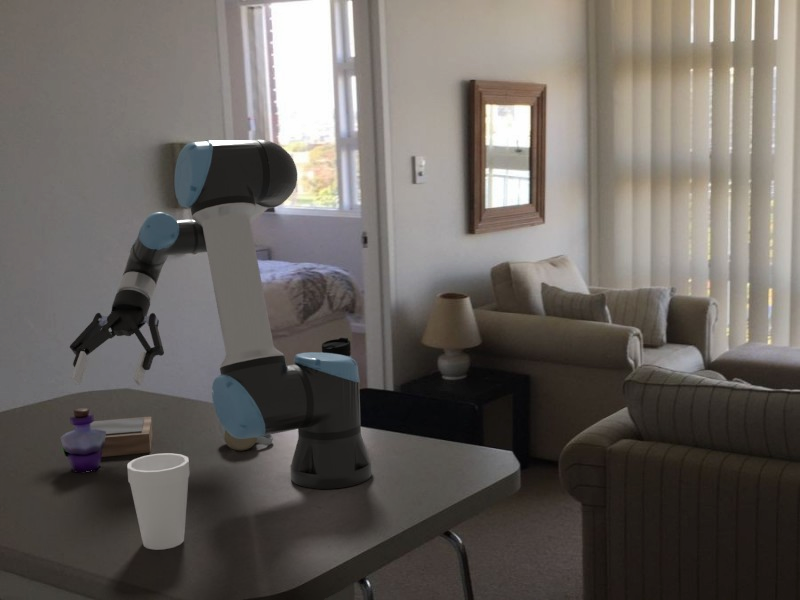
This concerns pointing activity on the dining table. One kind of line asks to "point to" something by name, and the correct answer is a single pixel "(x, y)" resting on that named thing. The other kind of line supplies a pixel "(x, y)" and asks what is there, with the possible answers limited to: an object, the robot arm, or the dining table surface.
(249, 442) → the ceramic mug
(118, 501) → the dining table surface
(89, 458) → the potion bottle
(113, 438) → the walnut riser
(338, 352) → the travel mug
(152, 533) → the foam cup
